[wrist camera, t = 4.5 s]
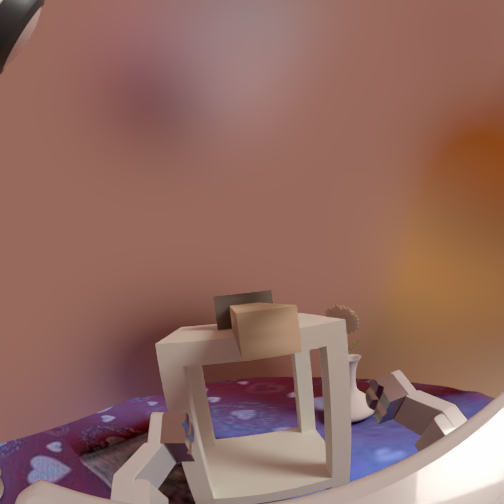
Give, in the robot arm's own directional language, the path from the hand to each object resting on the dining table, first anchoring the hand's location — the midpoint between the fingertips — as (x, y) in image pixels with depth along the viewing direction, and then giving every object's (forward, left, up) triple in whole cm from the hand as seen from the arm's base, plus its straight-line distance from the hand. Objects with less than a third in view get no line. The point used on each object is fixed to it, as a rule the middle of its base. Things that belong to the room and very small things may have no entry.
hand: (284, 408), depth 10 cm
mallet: (0, +12, +2) cm, 12 cm away
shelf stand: (0, +18, -24) cm, 30 cm away
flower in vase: (+21, +40, -24) cm, 51 cm away
